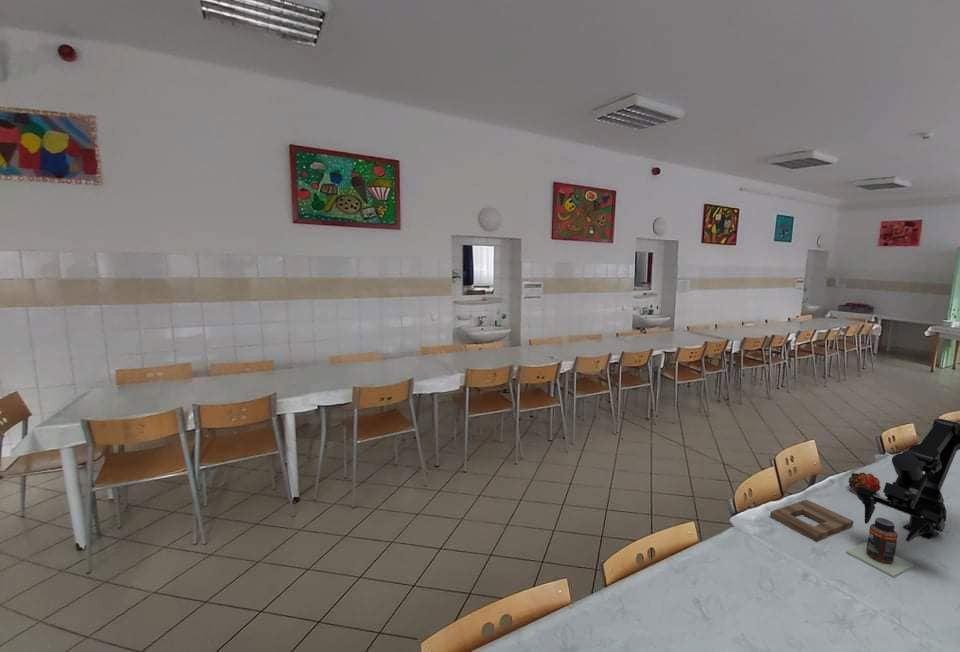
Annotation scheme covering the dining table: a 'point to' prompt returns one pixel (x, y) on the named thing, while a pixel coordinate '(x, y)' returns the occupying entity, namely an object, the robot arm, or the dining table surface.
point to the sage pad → (888, 568)
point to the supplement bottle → (882, 541)
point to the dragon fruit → (864, 481)
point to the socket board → (825, 517)
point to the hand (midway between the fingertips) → (885, 531)
